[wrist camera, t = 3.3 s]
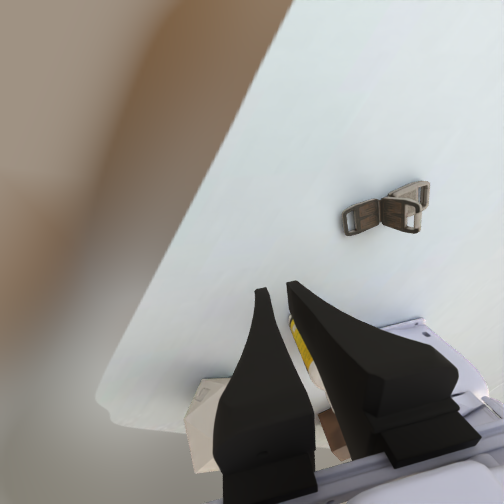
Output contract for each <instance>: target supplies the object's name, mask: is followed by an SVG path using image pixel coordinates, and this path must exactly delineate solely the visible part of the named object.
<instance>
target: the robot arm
mask: <svg viewBox="0 0 504 504" xmlns="http://www.w3.org/2000/svg"><path fill="white" fill-rule="evenodd" d="M286 285H287V295H288V305H289V310H290V313H291V316H292V318H293V321H294V324H295V326H296V328H297V330H298V332H299V334H300V335H301V337H302V339H303V341H304V343H305V345H306V347H307V349H308V351H309V353H310V355H311V357H312V359H313V361H314V363H315V365H316V367H317V370H318V372H319V375H320V377H321V380H322V382H323V385H324V387H325V390H326V392H327V395H328V397H329V400H330V402H331V405H332V408H333V410H334V413H335V415H336V418H337V421H338V423H339V426H340V429H341V431H342V434H343V437H344V440H345V442H346V445H347V448H348V451H349V454H350V456H351V459H352V461H350V462H347V463H343V464H340V465H336V466H333V467H329V468H326V469H322V470H319V471H315V458H314V457H315V455H314V451H315V450H316V446H315V421H314V411H313V407H312V405H311V402H310V399H309V397H308V394H307V392H306V390H305V388H304V386H303V384H302V382H301V379H300V377H299V375H298V373H297V371H296V369H295V367H294V365H293V362H292V360H291V358H290V356H289V353H288V351H287V349H286V346H285V344H284V342H283V339H282V337H281V334H280V332H279V329H278V327H277V324H276V321H275V317H274V313H273V308H272V304H271V299H270V295H269V292H268V290H267V288H266V287H264V288H260V289H256V290H255V291H254V292H255V307H254V315H253V320H252V324H251V328H250V332H249V336H248V339H247V342H246V345H245V347H244V350H243V353H242V355H241V358H240V360H239V362H238V364H237V366H236V369H235V371H234V373H233V375H232V377H231V379H230V381H229V383H228V384H227V386H226V388H225V390H224V391H223V393H222V395H221V397H220V399H219V402H218V406H217V411H216V416H215V421H214V429H213V452H212V454H213V458H214V460H215V462H216V463H217V465H218V467H219V469H220V470H221V472H222V474H223V498H220V499H217V500H213V501H210V502H206V503H203V504H340V503H343V502H346V501H348V502H347V503H346V504H504V404H503V403H502V402H501V401H499V400H498V399H494V398H489V389H488V385H487V383H486V381H485V379H484V378H483V376H482V375H481V373H480V372H479V371H478V369H477V368H476V367H475V366H474V365H473V364H472V363H471V362H470V361H469V360H468V359H467V358H465V357H464V356H463V355H462V354H460V353H459V352H458V351H457V350H456V349H454V348H453V347H452V346H451V345H449V344H448V343H447V342H446V341H444V340H443V339H442V338H441V337H440V336H438V335H437V334H436V333H435V332H433V331H432V330H431V329H430V328H428V327H427V326H426V325H425V324H426V320H425V319H424V318H420V319H416V320H412V321H407V322H403V323H399V324H395V325H391V326H387V327H383V328H376V327H374V326H372V325H369V324H367V323H365V322H362V321H360V320H358V319H356V318H354V317H352V316H350V315H348V314H346V313H344V312H342V311H340V310H338V309H337V308H335V307H333V306H332V305H330V304H328V303H327V302H325V301H324V300H322V299H321V298H319V297H318V296H316V295H315V294H314V293H312V292H311V291H310V290H308V289H307V288H306V287H304V286H303V285H302V284H300V283H299V282H298V281H291V282H287V283H286ZM483 403H486V404H487V405H488V406H489V407H490V408H491V409H493V411H494V412H495V413H496V414H497V415H498V416H499V417H500V418H501V419H500V418H498V417H497V416H496V415H495V414H494V413H493V412H492V411H491V410H490V409H489V408H488V407H487V406H486V405H485V404H483Z"/></svg>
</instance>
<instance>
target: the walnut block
mask: <svg viewBox="0 0 504 504" xmlns="http://www.w3.org/2000/svg"><path fill="white" fill-rule="evenodd" d="M318 417H319V420H320V422H321V425H322V428H323V430H324V433H325V436H326V438H327V441H328V443H329V446H330V449H331V451H332V452H333V454H334V455H335V456H336V457H337V458H338V459H339V460H340V461H344V460H346V459H348V458H351V456H350V454H349V451H348V448H347V445H346V442H345V440H344V437H343V434H342V431H341V429H340V426H339V423H338V421H337V418H336V415H335V413H334V412H333V410H332V408H331V409H328V410H326V411H324V412H322V413H320V414H318Z"/></svg>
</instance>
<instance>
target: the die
mask: <svg viewBox="0 0 504 504" xmlns="http://www.w3.org/2000/svg"><path fill="white" fill-rule="evenodd" d="M230 379H231V378H212V379H202V380H201V383H200V385H199V387H198V389H197V391H196V393H195V396H194V398H193V400H192V402H191V404H190V406H189V409H188V411H187V413H186V415H185V417H184V423H185V428H186V433H187V438H188V442H189V447H190V452H191V457H192V462H193V467H194V472H195V473H202V472H210V471H217V470H220V469H219V467H218V465H217V463H216V462H215V460H214V458H213V454H212V452H213V429H214V421H215V416H216V411H217V406H218V402H219V399H220V397H221V395H222V393H223V391H224V390H225V388H226V386H227V384H228V383H229V381H230Z"/></svg>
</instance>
